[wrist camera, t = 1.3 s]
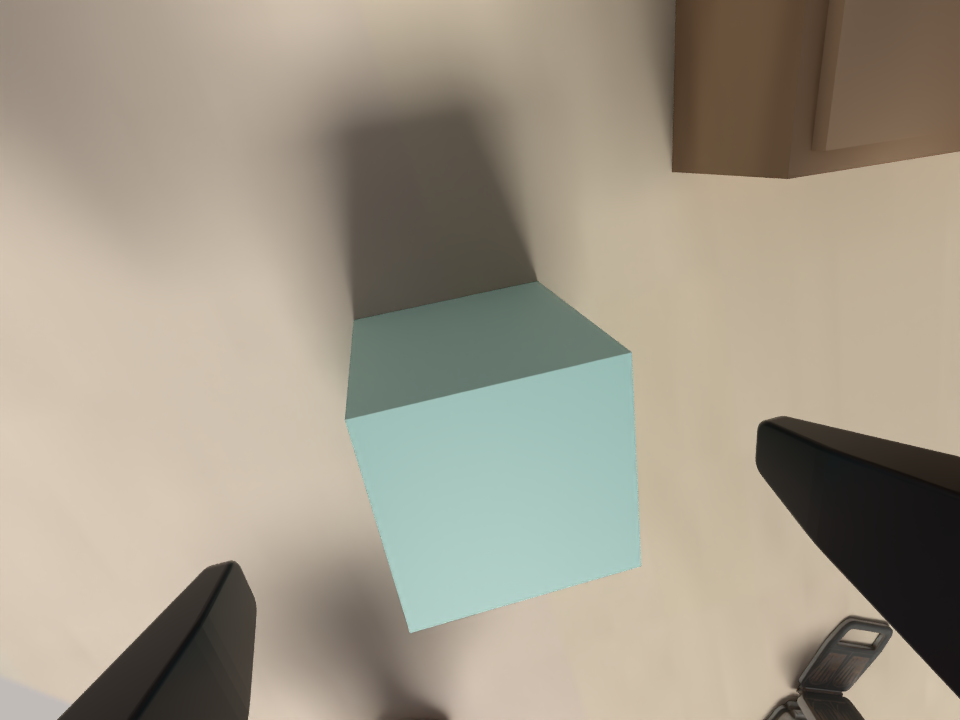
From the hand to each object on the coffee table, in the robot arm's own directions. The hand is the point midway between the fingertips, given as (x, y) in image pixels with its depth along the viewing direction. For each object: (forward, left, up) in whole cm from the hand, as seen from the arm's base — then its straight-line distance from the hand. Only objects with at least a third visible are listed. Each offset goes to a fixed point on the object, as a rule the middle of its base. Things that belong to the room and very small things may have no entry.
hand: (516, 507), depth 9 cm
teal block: (0, 0, -5) cm, 5 cm away
